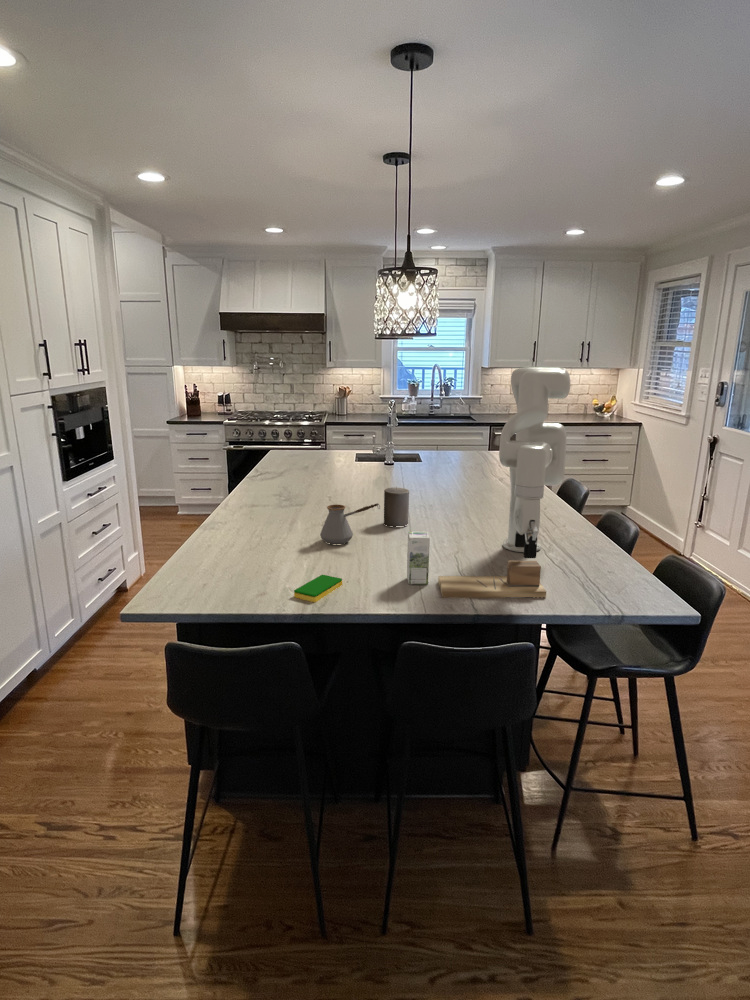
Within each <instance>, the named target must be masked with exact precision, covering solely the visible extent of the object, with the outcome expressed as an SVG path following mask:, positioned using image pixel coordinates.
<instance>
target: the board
mask: <svg viewBox="0 0 750 1000" xmlns="http://www.w3.org/2000/svg"><path fill="white" fill-rule="evenodd" d="M437 580H438V581H437V582H438V585H439V589H440V593H441V596H442V598H446V599H449V598H453V599H454V598H458V599H459V598H461V599H462V598H463V599H464V598H465V599H467V598H469V599H470V598H471V599H472V598H474V599H475V598H477V599H479V598H480V599H483V598H486V599H487V598H489V599H490V598H491V599H492V598H493V599H494V598H499V597H500V598H499V599H502V598H506V597H533V598H535V597H537V598H539V597H541V598H543V597H545V598H544V599H546V597H547V590H546V589H545V588H544V586H543V585H542V584H541V583H540V584H539V587H510V585H509V584H508V582H507V575H505V576H504V575H503V576H501V575H499V576H497V575H494V576H493V575H492V576H490V575H489V576H488V575H487V576H486V575H485V576H484V575H483V576H482V575H481V576H480V575H477V576H475V575H474V576H473V575H471V576H470V575H467V576H466V575H463V576H462V575H461V576H459V575H454V576H450V575H449V576H447V575H445V576H444V575H443V576H441V575H439V576H438V579H437ZM533 598H532V599H533ZM541 598H540V599H541ZM506 599H507V598H506Z"/></svg>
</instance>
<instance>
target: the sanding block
mask: <svg viewBox="0 0 750 1000" xmlns="http://www.w3.org/2000/svg"><path fill="white" fill-rule="evenodd" d="M541 567H542V566H541V564H540V563H539V561H538V560H507V568H506V569H507V570H506V571H507V573H506V576H507V582H508V584H509V585H510V587H539V584H541V572H542V571H541V570H542V569H541Z"/></svg>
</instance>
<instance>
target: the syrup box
mask: <svg viewBox="0 0 750 1000" xmlns="http://www.w3.org/2000/svg"><path fill="white" fill-rule="evenodd" d="M430 542H431V541H430V536H429V532H428V531H407V560H406V562H407V563H406V579H407V582H408V585H412V586H413V585H416V586H417V585H418V586H419V585H429V574H430V573H429V569H430V568H429V567H430V566H429V565H430V544H431V543H430Z"/></svg>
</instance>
